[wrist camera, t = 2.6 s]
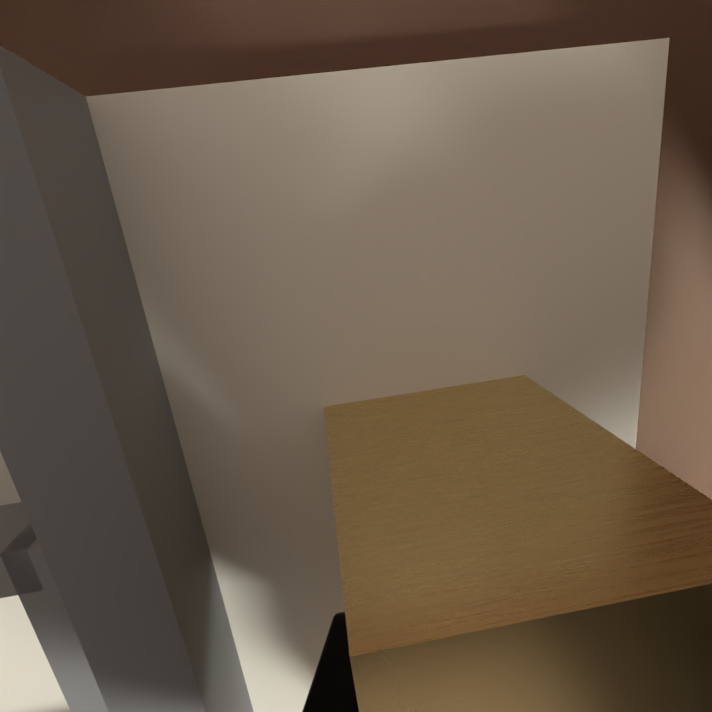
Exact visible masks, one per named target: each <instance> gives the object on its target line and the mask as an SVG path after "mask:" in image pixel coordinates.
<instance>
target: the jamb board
mask: <svg viewBox="0 0 712 712" xmlns="http://www.w3.org/2000/svg"><path fill="white" fill-rule="evenodd" d="M669 39H670V38H662V39H652V40H642V41H632V42H622V43H612V44H603V45H593V46H583V47H573V48H563V49H553V50H543V51H533V52H523V53H513V54H503V55H493V56H483V57H473V58H463V59H453V60H443V61H434V62H424V63H414V64H404V65H394V66H384V67H374V68H364V69H354V70H344V71H334V72H324V73H314V74H304V75H294V76H284V77H275V78H265V79H255V80H245V81H235V82H225V83H215V84H205V85H195V86H185V87H175V88H165V89H155V90H145V91H135V92H125V93H115V94H106V95H96V96H84V95H82V94H81V93H79V92H77V91H76V90H74V89H72V88H71V87H69V86H67V85H66V84H64V83H63V82H61V81H59V80H58V79H56V78H54V77H53V76H51V75H49V74H48V73H46V72H44V71H43V70H41V69H39V68H38V67H36V66H34V65H33V64H31V63H29V62H28V61H26V60H24V59H23V58H21V57H19V56H18V55H16V54H14V53H13V52H11V51H9V50H8V49H6V48H4V47H3V46H1V45H0V712H302V711H303V708H304V705H305V702H306V699H307V696H308V692H309V689H310V686H311V683H312V680H313V677H314V674H315V671H316V668H317V665H318V662H319V659H320V656H321V653H322V650H323V647H324V644H325V641H326V638H327V635H328V632H329V629H330V625H331V622H332V619H333V617H334V615H335V614H336V613H340V612H345V607H344V598H343V588H342V579H341V569H340V559H339V550H338V540H337V531H336V521H335V512H334V502H333V492H332V483H331V473H330V464H329V454H328V445H327V435H326V425H325V416H324V407H326V406H332V405H339V404H345V403H351V402H358V401H364V400H370V399H376V398H383V397H389V396H395V395H402V394H408V393H414V392H421V391H427V390H433V389H440V388H446V387H452V386H459V385H465V384H471V383H477V382H484V381H490V380H496V379H503V378H509V377H515V376H522V375H525V376H527V377H528V378H530V379H531V380H533V381H534V382H536V383H537V384H539V385H540V386H542V387H543V388H545V389H546V390H548V391H549V392H551V393H552V394H554V395H555V396H557V397H558V398H560V399H561V400H563V401H564V402H566V403H567V404H569V405H570V406H572V407H573V408H575V409H576V410H578V411H579V412H581V413H582V414H584V415H585V416H587V417H588V418H590V419H591V420H593V421H594V422H596V423H597V424H599V425H600V426H602V427H603V428H605V429H606V430H608V431H609V432H611V433H612V434H614V435H615V436H617V437H618V438H620V439H621V440H623V441H624V442H626V443H627V444H629V445H630V446H632V447H633V448H635V449H636V438H637V426H638V414H639V402H640V389H641V377H642V365H643V353H644V341H645V329H646V317H647V305H648V293H649V281H650V269H651V256H652V244H653V232H654V220H655V208H656V196H657V184H658V172H659V160H660V148H661V136H662V123H663V111H664V99H665V87H666V75H667V63H668V51H669Z"/></svg>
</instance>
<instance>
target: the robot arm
mask: <svg viewBox="0 0 712 712" xmlns="http://www.w3.org/2000/svg"><path fill="white" fill-rule="evenodd" d="M302 712H359V709H358V703H357V697H356V691H355V685H354V680H353V674H352V668H351V662H350V655H349V646H348V636H347V627H346V617H345V612H340V613H336V614H335V615H334V617H333V619H332V622H331V625H330V629H329V632H328V635H327V638H326V641H325V644H324V647H323V650H322V653H321V656H320V659H319V662H318V665H317V668H316V671H315V674H314V677H313V680H312V683H311V686H310V689H309V692H308V696H307V699H306V702H305V705H304V708H303V711H302Z"/></svg>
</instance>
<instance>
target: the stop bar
mask: <svg viewBox="0 0 712 712" xmlns="http://www.w3.org/2000/svg"><path fill="white" fill-rule="evenodd" d="M324 416H325V425H326V435H327V445H328V454H329V464H330V473H331V483H332V492H333V502H334V512H335V521H336V531H337V540H338V550H339V559H340V569H341V579H342V588H343V598H344V607H345V617H346V627H347V636H348V646H349V655H350V662H351V668H352V674H353V680H354V685H355V691H356V697H357V703H358V709H359V712H712V500H711V499H710V498H708V497H707V496H705V495H704V494H702V493H701V492H699V491H698V490H696V489H695V488H693V487H692V486H690V485H689V484H687V483H686V482H684V481H683V480H681V479H680V478H678V477H677V476H675V475H674V474H672V473H671V472H669V471H668V470H666V469H665V468H663V467H662V466H660V465H659V464H657V463H656V462H654V461H653V460H651V459H650V458H648V457H647V456H645V455H644V454H642V453H641V452H639V451H638V450H636V449H635V448H633V447H632V446H630V445H629V444H627V443H626V442H624V441H623V440H621V439H620V438H618V437H617V436H615V435H614V434H612V433H611V432H609V431H608V430H606V429H605V428H603V427H602V426H600V425H599V424H597V423H596V422H594V421H593V420H591V419H590V418H588V417H587V416H585V415H584V414H582V413H581V412H579V411H578V410H576V409H575V408H573V407H572V406H570V405H569V404H567V403H566V402H564V401H563V400H561V399H560V398H558V397H557V396H555V395H554V394H552V393H551V392H549V391H548V390H546V389H545V388H543V387H542V386H540V385H539V384H537V383H536V382H534V381H533V380H531V379H530V378H528V377H527V376H525V375H522V376H515V377H509V378H503V379H496V380H490V381H484V382H477V383H471V384H465V385H459V386H452V387H446V388H440V389H433V390H427V391H421V392H414V393H408V394H402V395H395V396H389V397H383V398H376V399H370V400H364V401H358V402H351V403H345V404H339V405H332V406H326V407H324Z"/></svg>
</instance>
